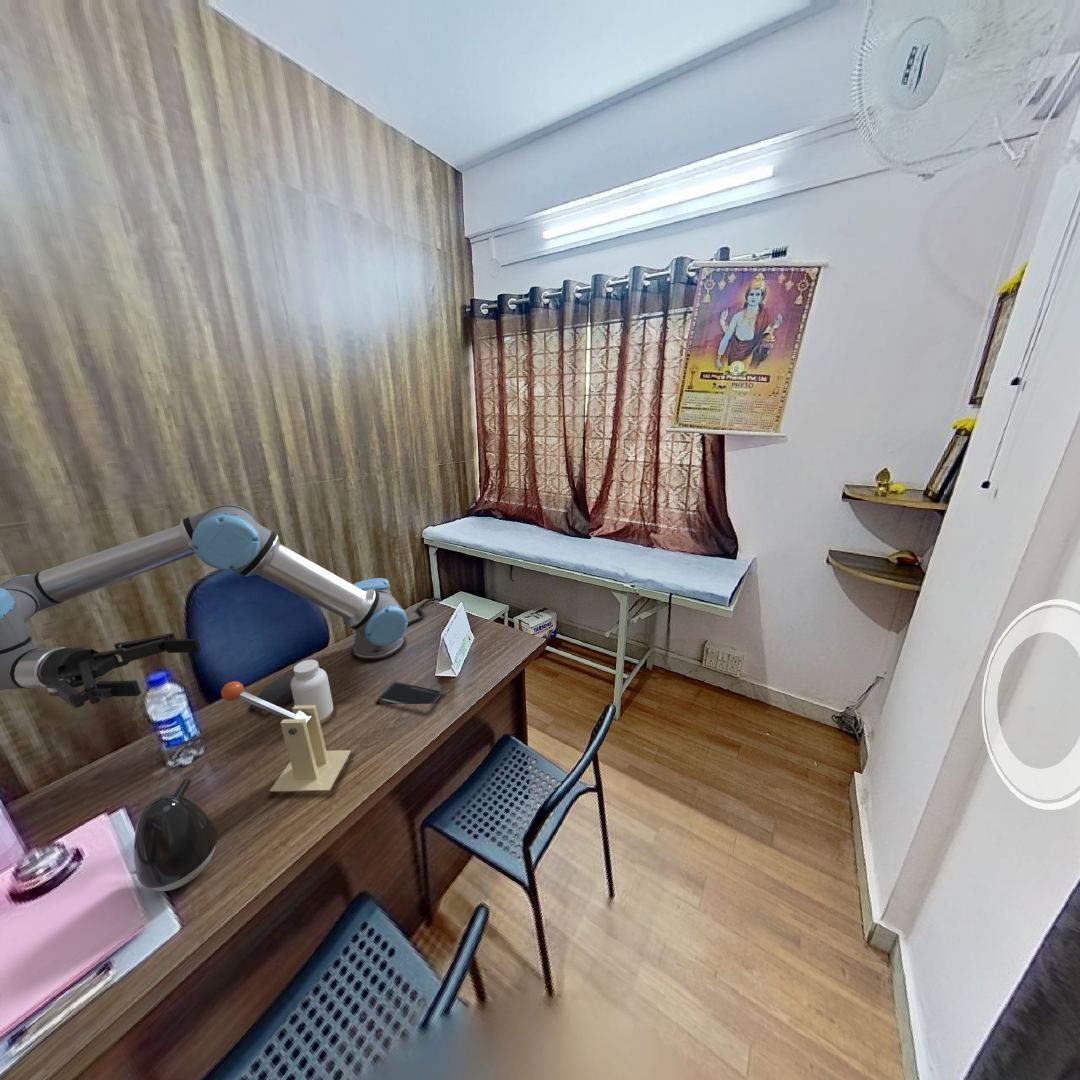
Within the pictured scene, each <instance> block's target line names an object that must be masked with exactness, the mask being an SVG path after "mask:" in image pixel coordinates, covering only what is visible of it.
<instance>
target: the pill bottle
mask: <svg viewBox="0 0 1080 1080" xmlns="http://www.w3.org/2000/svg"><path fill="white" fill-rule="evenodd" d="M319 664H320V663H319V662H318V661H317V660H316V659H305V660H303V661H301V662H298V663H297V664H296V665H295V666H293V669H292V670H293V675H295V676H294V677H293V679H292V681H291V690H292V694H293V699H292V700H293V702H294V706H295V705H316V708H317V712H318V716H319V721H320V722H321V721H323V720H325V719H327V718H328V717H329V716H330V715H331V714H332V713H333V711H334V702H333V699H332V698H333V697H332V693H331V687H330V683H329V678H328V677H329V676H328V673H327V671H325V670H324V669H323V668H320V665H319Z"/></svg>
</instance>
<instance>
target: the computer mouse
mask: <svg viewBox="0 0 1080 1080" xmlns="http://www.w3.org/2000/svg"><path fill="white" fill-rule="evenodd" d="M294 676H295V675H294V674H287V675H284V676H281V677H278V678H277V679H275V680H274V681H272V682H271V683H269V684H268V685H267V686H266V687H264V688H263V689H262V690H261V692H260V693H259V694H258V695H257V697H258V698H260V699H262V700H265V701H267V702H269V703H271V704H273V705H276V706H278V707H282V706H284V705H287V704H288V703H289V702H291V701H292V700H294V699H293V694H292V690H291V681H292V679H293V677H294ZM250 709H252V710H253V711H256V709H259V710H260V711H264V712H267V711H266V710H264V709H262V708H260V707H257V706H255V705H253V704H251V705H250Z"/></svg>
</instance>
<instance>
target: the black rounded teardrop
mask: <svg viewBox="0 0 1080 1080" xmlns="http://www.w3.org/2000/svg"><path fill="white" fill-rule="evenodd" d="M191 782H192V780H191V778H184V779H183V781H182V782H181V784H180V785H179V786H178V788H177V789H176V791H175V792H174V793H173V794H165V795H162V796H159V797H157V798H156V799H154V800H152V801H151V802H150V803H149V804H148V805H147V806H145V808H144V809H143V810H142V812H141V814H140V816H139V818H138V821H137V824H136V827H135V830H134V831H135V832H134V837H133V839H134V840H133V863H134V869H135V874H136V878H137V880H138V882H139V884H140V885H141V886H143V887H145V888H149V889H150V890H153V891H157V892H168V891H173V890H176V889H179V888H181V887H183V886H184V885H187V884H188V883H190V882H192V880H195V878H197V877H198V876H199V875H200V874H201V873H202V872H203V871H204V870H205V868H206V867H207V866H208V865H209V863H210V861H211V860H212V858H213V856H214V854H215V850H216V846H217V842H218V837H219V834H218V830H217V828H216V826H215V823H214V822H213V820H212V819H211V817H210V816H209V815H208V813H207V812H205V810H204V809H203V808H202V807H201V806H200V805H198V804H197V803H196V802H195V801H193V800H191V799H190V798H187V797H186V796H185V794H186V792H187V790H188V788H189V786H190V784H191Z"/></svg>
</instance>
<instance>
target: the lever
mask: <svg viewBox="0 0 1080 1080" xmlns="http://www.w3.org/2000/svg"><path fill="white" fill-rule="evenodd" d="M220 696H221V697H222V699H224V700H225V701H228V702H232V701H237V700H238V699H240V700H241V701H244V702H246V703H247V704H251V705H252V704H253V705H255V706H257V707H260V708H262V709H264V710H266V711H265V712H269V713H271V714H274V715H275V716H278V717H280V718H281V719H305V720H306V724H308V722H309V721H310V719H311V717H312V716H311V715H309V714H306V713H304V712H302V711H300V710H299V711H298V712H297V713H296V714H294V713H293V712H291V711H289V710H287V709H285V708H283V707H281V706H276V705H273V704H271V703H269V702H267V701H265V700H262V699H260V698H258V696H256V695H254V694H251V693H249V692H247V691H245V687H244V685H243V683H241V682H240V681H237V680H235V681H234V680H233V681H229V682H226V683H225V684H224V686H223V687H222V688H221V691H220ZM264 710H263V711H264Z"/></svg>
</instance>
